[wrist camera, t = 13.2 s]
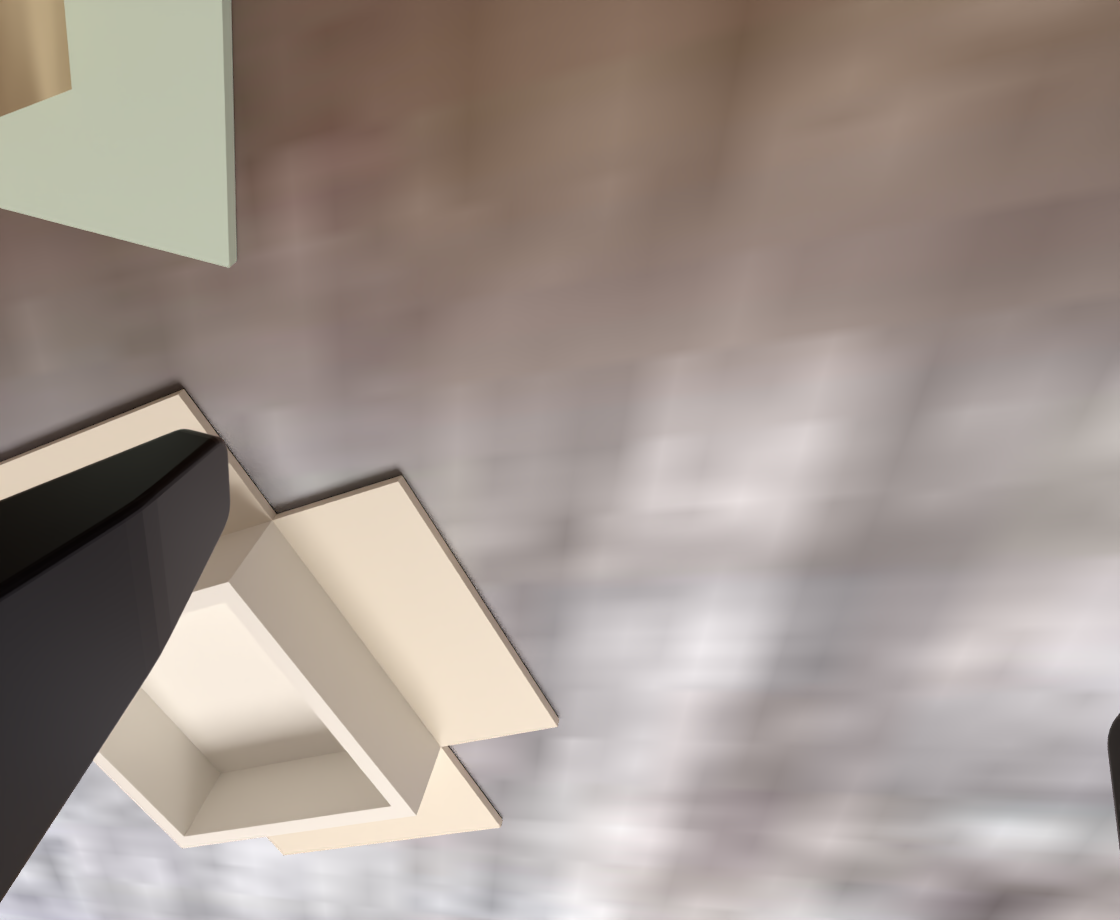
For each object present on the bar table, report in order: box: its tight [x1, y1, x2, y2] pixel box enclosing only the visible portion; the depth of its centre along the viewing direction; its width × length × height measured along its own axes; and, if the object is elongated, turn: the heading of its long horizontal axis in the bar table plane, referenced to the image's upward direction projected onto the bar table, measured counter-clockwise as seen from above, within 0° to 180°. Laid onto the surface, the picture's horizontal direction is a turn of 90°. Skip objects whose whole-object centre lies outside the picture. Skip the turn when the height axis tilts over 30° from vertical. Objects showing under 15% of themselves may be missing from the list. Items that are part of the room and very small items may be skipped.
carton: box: [0, 389, 559, 855], centre depth 30 cm, size 19×19×3 cm
